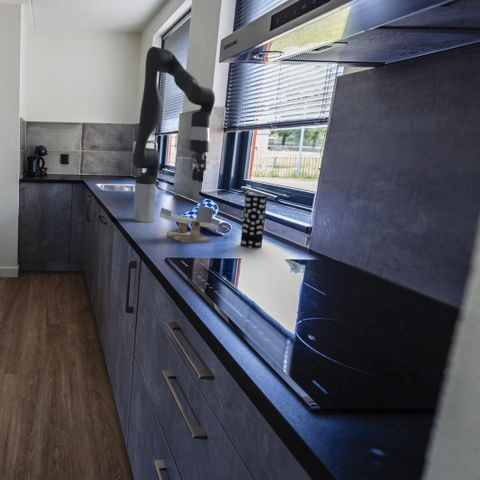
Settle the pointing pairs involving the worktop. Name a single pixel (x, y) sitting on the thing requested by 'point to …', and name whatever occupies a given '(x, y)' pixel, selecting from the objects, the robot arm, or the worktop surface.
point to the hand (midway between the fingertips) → (197, 181)
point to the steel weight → (204, 214)
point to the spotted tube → (253, 220)
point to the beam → (187, 219)
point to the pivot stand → (188, 233)
